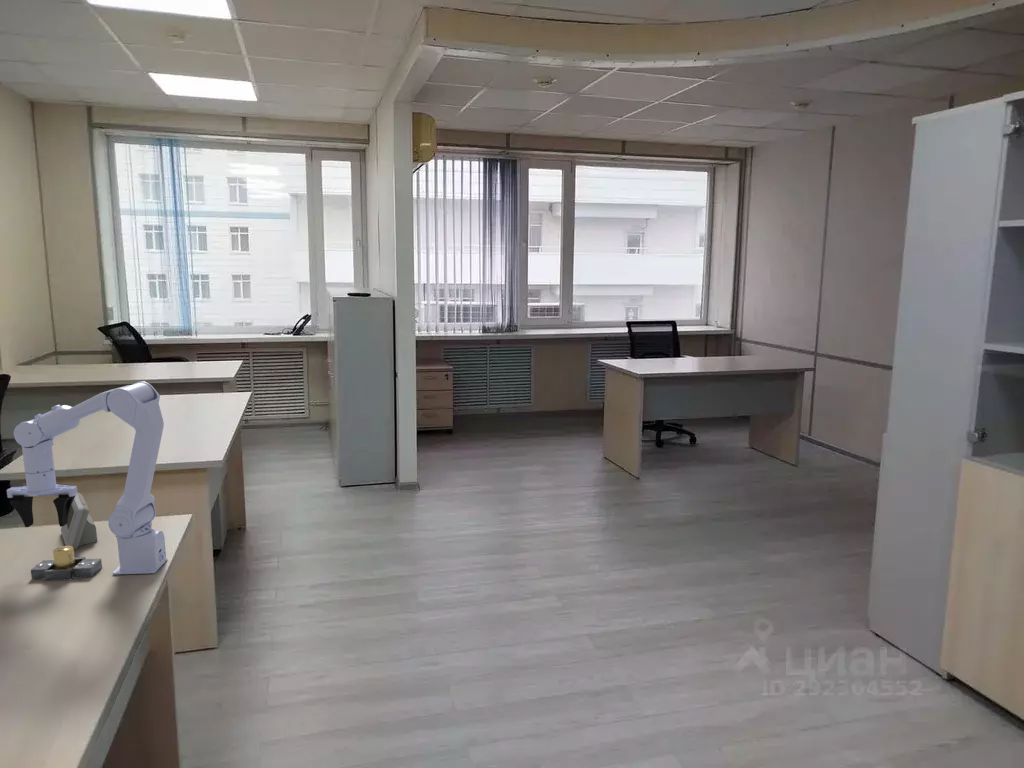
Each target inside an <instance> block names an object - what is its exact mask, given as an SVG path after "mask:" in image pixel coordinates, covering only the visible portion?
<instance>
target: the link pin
mask: <svg viewBox="0 0 1024 768" xmlns="http://www.w3.org/2000/svg"><path fill="white" fill-rule="evenodd" d="M52 555H53V560H54V565H55V570H60V569H72V568H74V567H75V558H76V557H75V549H74V548H73V546H66V545H64V546H63V545H62V546H58V547H56V548H54V549H53V550H52ZM72 576H73V570H72Z"/></svg>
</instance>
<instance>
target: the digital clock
mask: <svg viewBox="0 0 1024 768" xmlns="http://www.w3.org/2000/svg"><path fill="white" fill-rule="evenodd" d="M77 493H78V494H76V495H75V498H74V500H73V502H72V504H71V507H70V510H69V514H68V521H67V524H66V525H64V526H60V532H61V536H62V540H63V542H64V546H73V548H74V550H76V549H78V548H79V546H82V545H86V543H87V544H90V542H92V543H96V542H97V541H98V532H97V526H96V525H95V522H94V520H93V518H92V516H91V515H90V514H89V513H90V509H89V507H88V504H87V502H86V499H85V498H84V496H83V494H81V493H80V492H77ZM95 541H96V542H95ZM81 544H82V545H81Z"/></svg>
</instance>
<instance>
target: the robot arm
mask: <svg viewBox="0 0 1024 768" xmlns="http://www.w3.org/2000/svg"><path fill="white" fill-rule="evenodd" d="M160 396H161V395H160V394H159V393H158V391H157V390H156V389H155V387H153V385H152V384H150V383H149V382H146V381H137V382H135V383H132V384H131V385H130V384H127V385H124V386H121V387H117V388H113V389H109V390H106V391H104V392H103V391H102V392H99V393H98V394H96V395H94V396H92V397H90V398H87V399H86V400H84V401H82V402H80V403H78V404H76V405H74V406H70V405H67V404H63V405H61V404H57V405H53V406H52V407H51V410H50V411H47V412H45V413H43V414H42V413H38V414H36V415H34V418H33V419H30V420H28V421H21V422H20V423H19V424H18V425H16V426H15V428H14V430H13V436H14V440H15V441H16V443H17V444H18V445H20V446H21V449H22V459H23V467H24V475H25V481H26V485H24V486H12V487H10V488H7V489H6V495H7V496H6V497H7V498H8V499H12V500H9V504H10V506H12V508H14V510H15V511H16V512H17V514H18V515H19V517H20V518H21V520H22V523H23V524H24V527H25V528H29V527H31V526H32V525H33V524H34V514H33V502H34V501H33V500H34V497H56V498H54V499H53V501H52V502H53V504H54V506H55V509H56V512H57V518H58V520H57V521H58V526H59V527H62V526H64V525H66V524H67V521H68V514H69V510H70V507H71V504H72V502H73V500H74V498H75V495H76V494H78V493H79V492H78V487H77V485H66V484H65V485H64V484H57V479H56V471H55V470H56V469H55V460H54V453H53V446H54V438H55V437H58V436H61V435H62V434H65V433H66V432H69V431H71V430H73V429H75V428H77V427H78V426H79V425H80V420H81V419H84V418H86V417H89V416H90V415H91V416H92V415H93V414H96V413H98V412H101V411H105V412H106V413H109V412H110V413H112V414H113V415H115V416H116V417H118V418H119V419H120V420H122V421H123V422H124V423H127V425H129V426H130V427H132V428H133V429H134V430H135V433H134V439H133V443H132V449H131V453H130V458H129V465H128V469H127V474H126V480H125V485H124V490H123V494H122V496H121V497H120V498H119V500H118V501H117V503H116V504H115V507H114V508H115V509H114V511H113V512H112V514H111V515H110V516H109V518H108V523H107V525H108V528H109V530H110V531H111V533H112V534H113V535H115V538H116V540H117V551H118V560H119V562H118V563H119V566H117V568H115V570H113V571H112V575H137V574H139V575H141V574H156V573H157V572H158V570H159V569H160V568H161V567H162V566H163V564H165V563H166V562H167V561H168V557H167V552H166V539H165V538H166V537H165V534H164V532H163V531H162V530H158V529H157V530H156V529H153V528H152V527H153V524H152V523H153V522H152V521H153V520H154V519H155V518H156V515H157V509H156V506H155V505H156V504H155V500H156V497H155V496H154V495H153V494H152V493H151V491H152V485H153V480H154V474H155V470H156V466H157V462H158V461H157V460H158V457H159V456H158V455H159V450H160V446H161V440H162V436H163V432H164V431H163V430H164V426H165V424H164V417H163V415H162V411H161V407H160V404H159V402H160V398H161V397H160Z"/></svg>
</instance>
